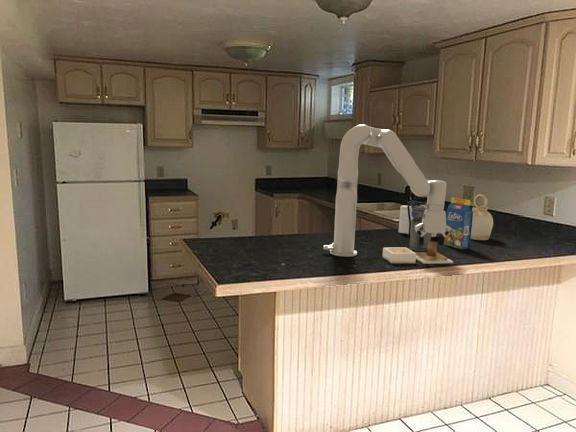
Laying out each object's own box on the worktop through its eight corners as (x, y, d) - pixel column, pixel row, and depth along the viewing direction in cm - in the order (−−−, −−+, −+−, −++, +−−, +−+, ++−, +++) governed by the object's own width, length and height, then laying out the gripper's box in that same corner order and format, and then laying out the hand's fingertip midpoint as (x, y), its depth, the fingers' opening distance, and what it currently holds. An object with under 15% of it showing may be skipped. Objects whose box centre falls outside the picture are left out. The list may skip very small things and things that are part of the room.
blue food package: (451, 243, 247) (455, 197, 242) (469, 248, 236) (474, 200, 232) (442, 244, 244) (447, 197, 239) (461, 249, 233) (465, 200, 229)
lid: (425, 260, 206) (427, 244, 205) (415, 254, 216) (416, 239, 215) (447, 260, 208) (448, 244, 207) (436, 254, 218) (437, 239, 217)
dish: (391, 263, 203) (392, 253, 202) (382, 257, 213) (383, 247, 212) (415, 263, 204) (416, 253, 204) (404, 256, 215) (405, 247, 214)
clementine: (396, 259, 207) (397, 252, 206) (393, 257, 210) (394, 250, 209) (403, 259, 207) (404, 252, 207) (400, 257, 211) (401, 250, 210)
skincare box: (436, 236, 266) (439, 208, 263) (434, 237, 261) (436, 209, 258) (401, 231, 277) (403, 204, 274) (397, 232, 272) (399, 205, 269)
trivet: (423, 263, 204) (423, 261, 204) (410, 255, 218) (410, 253, 218) (453, 263, 206) (453, 261, 206) (437, 255, 220) (438, 253, 220)
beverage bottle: (405, 246, 237) (409, 197, 233) (432, 249, 232) (436, 199, 228) (402, 250, 227) (406, 199, 223) (431, 253, 223) (435, 202, 219)
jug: (478, 234, 273) (482, 192, 269) (497, 240, 259) (502, 196, 254) (456, 235, 268) (460, 192, 264) (475, 241, 254) (479, 196, 250)
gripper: (420, 208, 203) (416, 246, 206) (457, 209, 206) (452, 247, 209) (413, 206, 210) (409, 242, 213) (448, 207, 213) (444, 243, 216)
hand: (431, 245), depth 211 cm, fingers open, 9 cm apart
